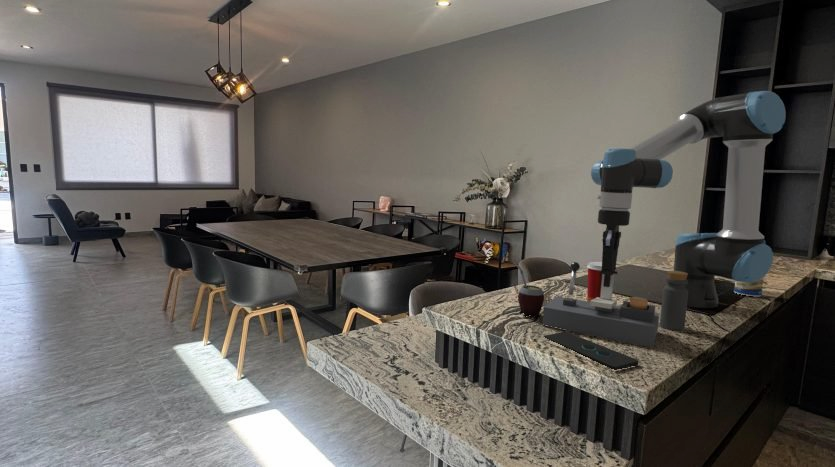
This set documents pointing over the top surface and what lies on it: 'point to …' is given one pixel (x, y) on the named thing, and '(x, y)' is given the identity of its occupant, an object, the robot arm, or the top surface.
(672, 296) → the bottle
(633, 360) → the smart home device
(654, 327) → the console
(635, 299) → the push button
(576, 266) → the toggle lever
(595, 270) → the paper cup
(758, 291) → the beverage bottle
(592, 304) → the plate
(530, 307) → the mate gourd
